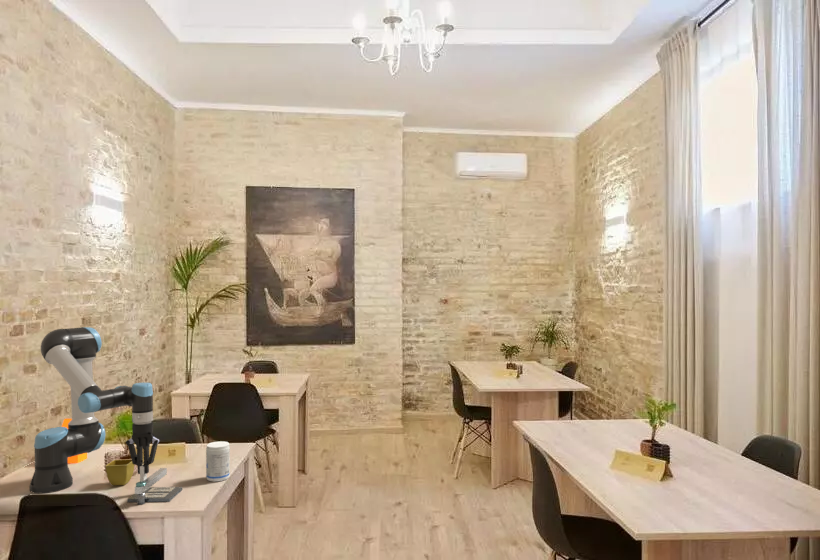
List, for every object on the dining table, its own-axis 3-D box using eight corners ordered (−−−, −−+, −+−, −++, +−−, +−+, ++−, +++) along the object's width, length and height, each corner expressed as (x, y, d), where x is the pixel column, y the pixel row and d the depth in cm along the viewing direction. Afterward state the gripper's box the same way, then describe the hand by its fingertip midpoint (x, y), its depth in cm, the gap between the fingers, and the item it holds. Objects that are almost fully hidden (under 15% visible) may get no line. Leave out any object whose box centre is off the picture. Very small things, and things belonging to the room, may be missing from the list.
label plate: (127, 502, 224) (127, 498, 224) (142, 490, 237) (142, 486, 237) (169, 501, 224) (169, 497, 224) (182, 489, 237) (182, 486, 237)
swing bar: (143, 493, 220) (142, 485, 220) (133, 494, 220) (133, 485, 220) (168, 474, 243) (168, 466, 243) (159, 474, 243) (159, 466, 243)
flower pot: (114, 480, 250) (114, 459, 250) (135, 480, 250) (135, 458, 250) (105, 487, 241) (105, 465, 241) (127, 487, 241) (127, 465, 241)
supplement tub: (205, 476, 253) (205, 442, 253) (228, 473, 257) (228, 440, 257) (207, 483, 244) (207, 448, 244) (231, 480, 248) (230, 445, 248)
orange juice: (69, 458, 283) (69, 416, 284) (87, 458, 283) (87, 416, 283) (59, 463, 276) (59, 420, 276) (77, 463, 275) (77, 420, 275)
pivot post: (135, 504, 221) (135, 494, 221) (139, 502, 224) (139, 491, 224) (143, 504, 221) (143, 494, 221) (146, 502, 224) (146, 491, 224)
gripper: (121, 424, 230) (122, 485, 230) (155, 424, 230) (155, 484, 230) (130, 420, 237) (131, 479, 237) (163, 419, 237) (163, 478, 237)
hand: (143, 481), depth 233 cm, fingers closed
